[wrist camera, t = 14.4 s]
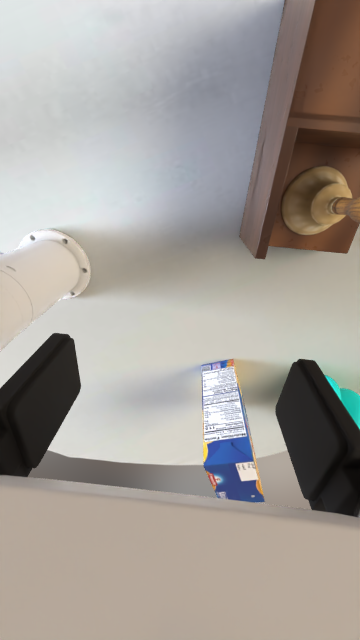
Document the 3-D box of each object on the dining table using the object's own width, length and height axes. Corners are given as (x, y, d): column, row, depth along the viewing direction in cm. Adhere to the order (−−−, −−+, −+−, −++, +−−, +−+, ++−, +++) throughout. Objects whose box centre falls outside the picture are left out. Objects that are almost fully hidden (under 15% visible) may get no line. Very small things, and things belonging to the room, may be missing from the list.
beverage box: (232, 358, 52) (252, 460, 33) (242, 395, 57) (264, 502, 38) (201, 364, 54) (203, 465, 35) (213, 400, 59) (221, 505, 40)
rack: (239, 236, 40) (254, 258, 29) (285, -3, 28) (345, -130, 16) (331, 246, 40) (383, 271, 29) (420, 8, 28) (576, -113, 16)
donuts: (317, 409, 58) (338, 449, 49) (284, 391, 56) (300, 429, 47) (352, 383, 54) (382, 422, 45) (318, 362, 52) (343, 399, 43)
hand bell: (285, 168, 31) (355, 157, 17) (354, 163, 31) (485, 147, 17) (277, 236, 35) (328, 271, 21) (338, 233, 35) (432, 267, 21)
